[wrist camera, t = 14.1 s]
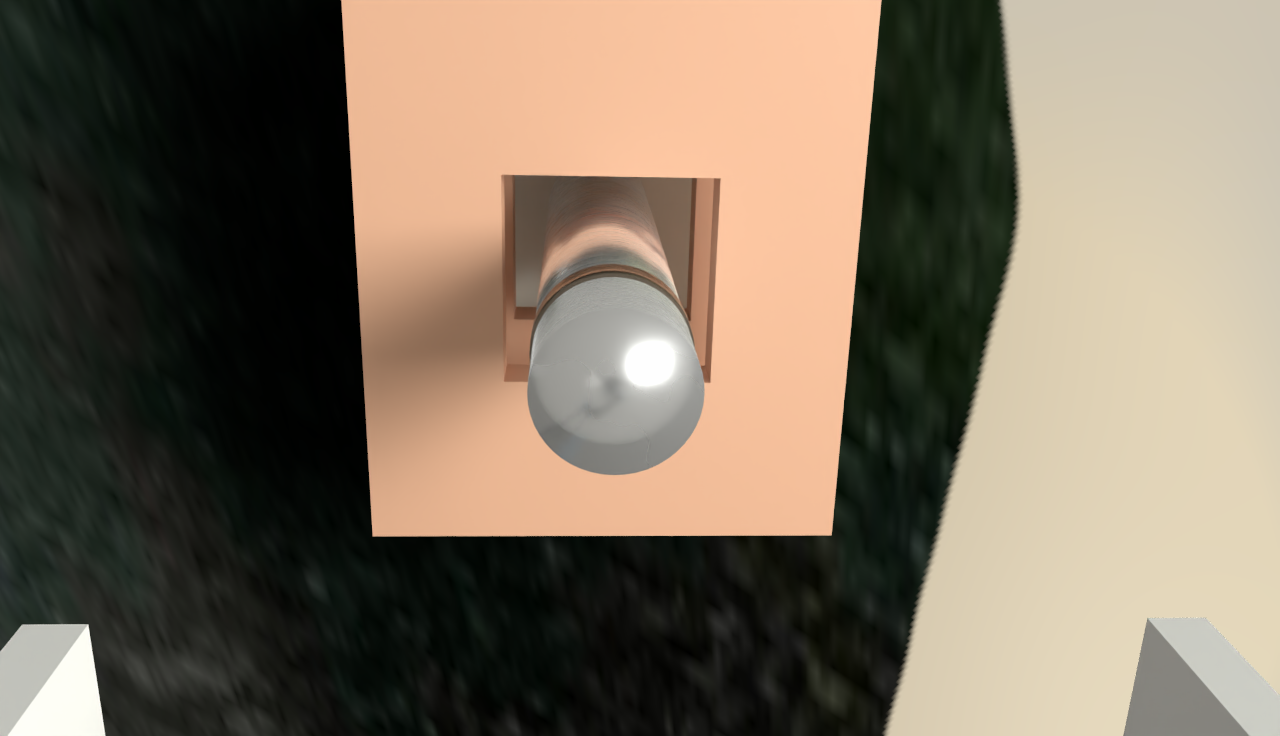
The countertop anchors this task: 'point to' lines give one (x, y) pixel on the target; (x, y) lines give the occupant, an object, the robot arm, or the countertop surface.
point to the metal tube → (610, 333)
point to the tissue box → (685, 220)
